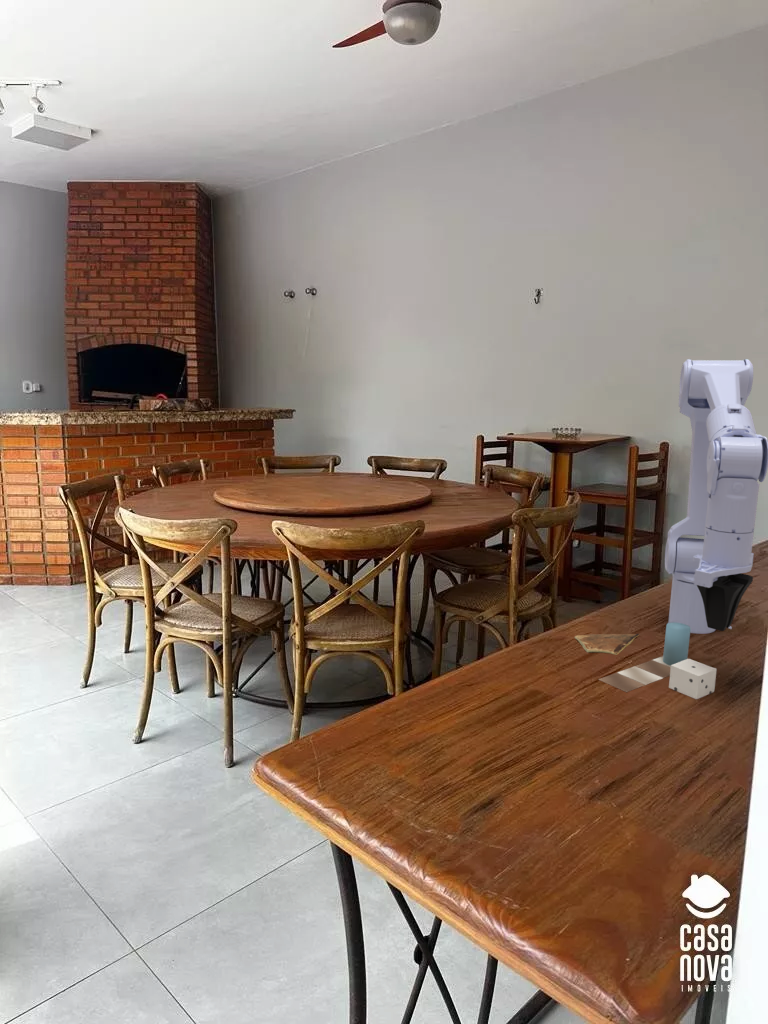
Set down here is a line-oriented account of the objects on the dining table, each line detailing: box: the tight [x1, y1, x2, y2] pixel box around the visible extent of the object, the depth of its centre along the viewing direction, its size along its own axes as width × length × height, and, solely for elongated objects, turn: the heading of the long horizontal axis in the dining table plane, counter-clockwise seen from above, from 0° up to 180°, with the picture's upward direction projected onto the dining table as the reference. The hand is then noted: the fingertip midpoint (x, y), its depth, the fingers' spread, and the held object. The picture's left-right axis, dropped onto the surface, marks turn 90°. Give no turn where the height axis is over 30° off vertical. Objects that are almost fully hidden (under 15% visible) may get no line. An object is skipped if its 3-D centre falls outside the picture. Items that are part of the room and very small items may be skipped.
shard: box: [574, 633, 640, 656], centre depth 106 cm, size 11×8×2 cm
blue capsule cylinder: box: [662, 622, 691, 666], centre depth 99 cm, size 3×3×6 cm
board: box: [598, 655, 671, 693], centre depth 96 cm, size 16×5×1 cm, turn 124°
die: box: [668, 658, 717, 700], centre depth 91 cm, size 4×4×4 cm
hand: (718, 627), depth 92 cm, fingers closed
